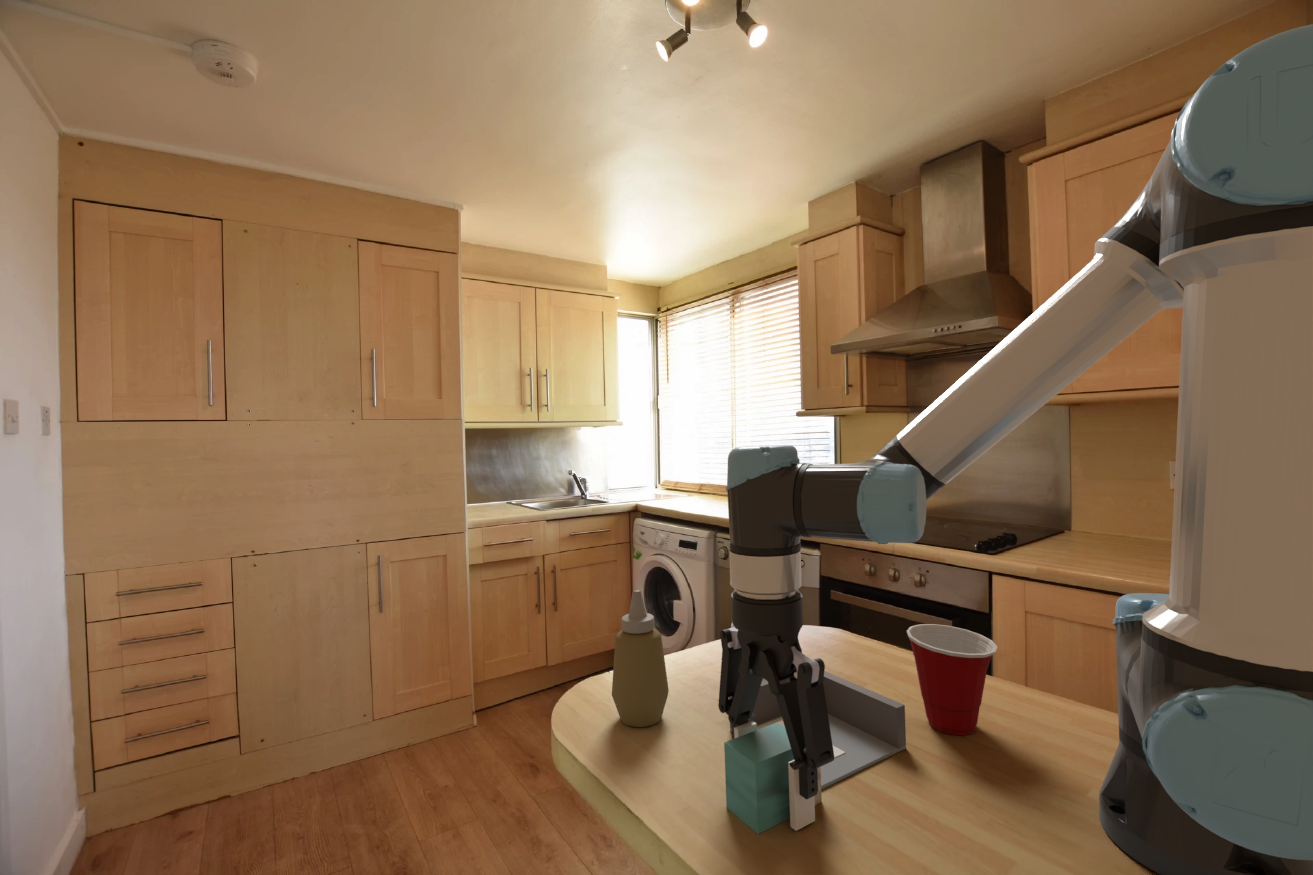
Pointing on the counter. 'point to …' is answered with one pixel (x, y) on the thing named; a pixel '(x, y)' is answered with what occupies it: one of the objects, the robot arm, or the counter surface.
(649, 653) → the squeeze bottle
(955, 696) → the plastic cup
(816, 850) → the counter surface
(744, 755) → the teal block
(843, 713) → the corner tray
